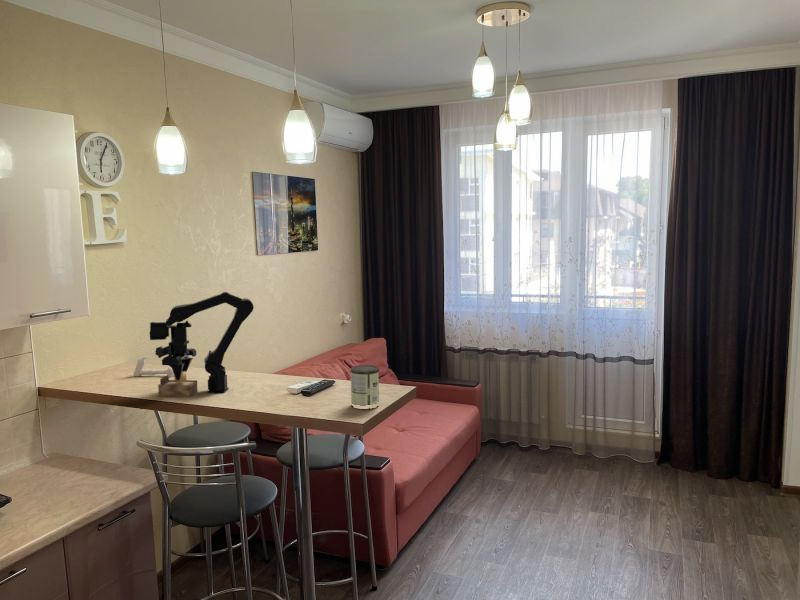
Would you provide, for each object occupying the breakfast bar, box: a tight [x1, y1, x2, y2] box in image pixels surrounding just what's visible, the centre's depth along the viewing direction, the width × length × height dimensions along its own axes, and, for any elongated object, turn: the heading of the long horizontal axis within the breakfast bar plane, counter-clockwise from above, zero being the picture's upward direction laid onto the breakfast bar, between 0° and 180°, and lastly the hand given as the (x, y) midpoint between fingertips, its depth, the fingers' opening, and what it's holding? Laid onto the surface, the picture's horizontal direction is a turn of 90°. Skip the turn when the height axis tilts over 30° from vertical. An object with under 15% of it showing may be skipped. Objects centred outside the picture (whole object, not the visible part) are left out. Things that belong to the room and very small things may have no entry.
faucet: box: [133, 356, 174, 378], centre depth 262 cm, size 4×18×10 cm, turn 91°
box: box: [157, 379, 198, 398], centre depth 234 cm, size 12×8×4 cm, turn 87°
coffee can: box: [350, 364, 380, 406], centre depth 219 cm, size 10×10×14 cm
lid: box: [160, 375, 196, 387], centre depth 234 cm, size 12×6×3 cm, turn 87°
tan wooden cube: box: [173, 371, 188, 383], centre depth 233 cm, size 4×4×4 cm
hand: (180, 378), depth 234 cm, fingers closed on tan wooden cube, 4 cm apart
